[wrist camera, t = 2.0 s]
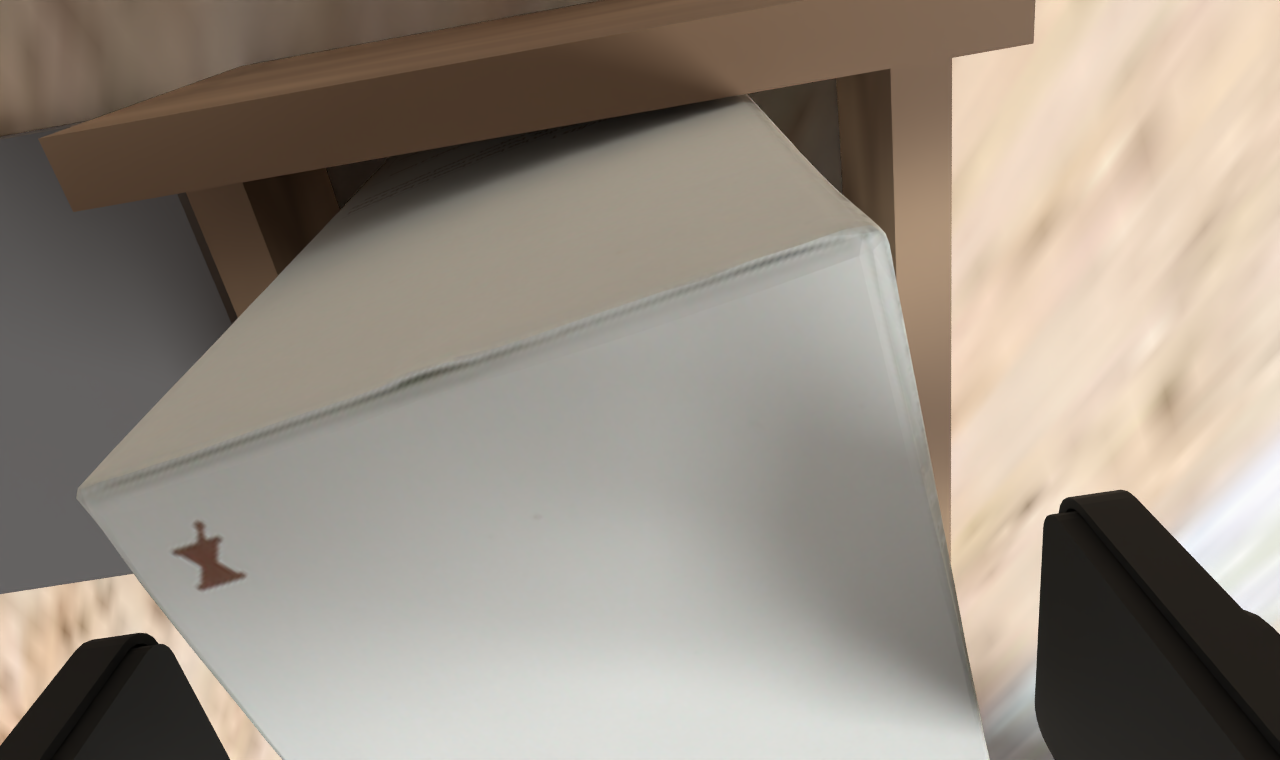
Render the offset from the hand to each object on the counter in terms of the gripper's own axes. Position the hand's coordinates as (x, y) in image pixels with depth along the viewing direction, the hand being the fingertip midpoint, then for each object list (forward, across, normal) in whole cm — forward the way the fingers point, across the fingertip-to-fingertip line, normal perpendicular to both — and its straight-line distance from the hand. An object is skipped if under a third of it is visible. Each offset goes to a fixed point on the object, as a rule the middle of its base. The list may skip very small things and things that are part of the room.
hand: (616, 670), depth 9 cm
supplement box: (+12, 0, -1) cm, 12 cm away
